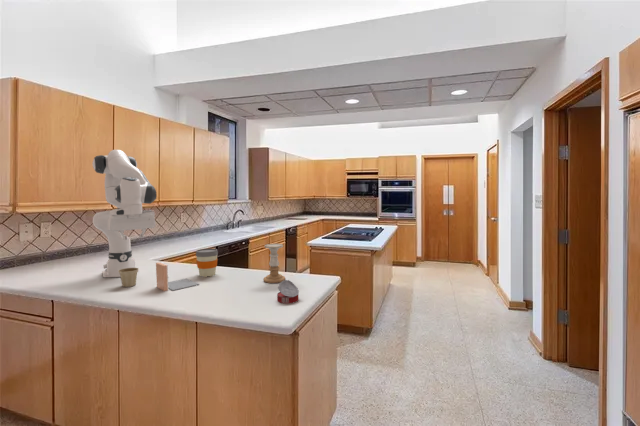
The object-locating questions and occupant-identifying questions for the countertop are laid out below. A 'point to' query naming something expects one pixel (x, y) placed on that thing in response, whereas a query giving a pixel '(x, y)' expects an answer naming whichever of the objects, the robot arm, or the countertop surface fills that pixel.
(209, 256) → the reusable coffee cup
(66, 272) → the countertop surface
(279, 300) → the canned food
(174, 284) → the mat
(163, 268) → the tile
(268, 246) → the candle holder
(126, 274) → the flower pot
